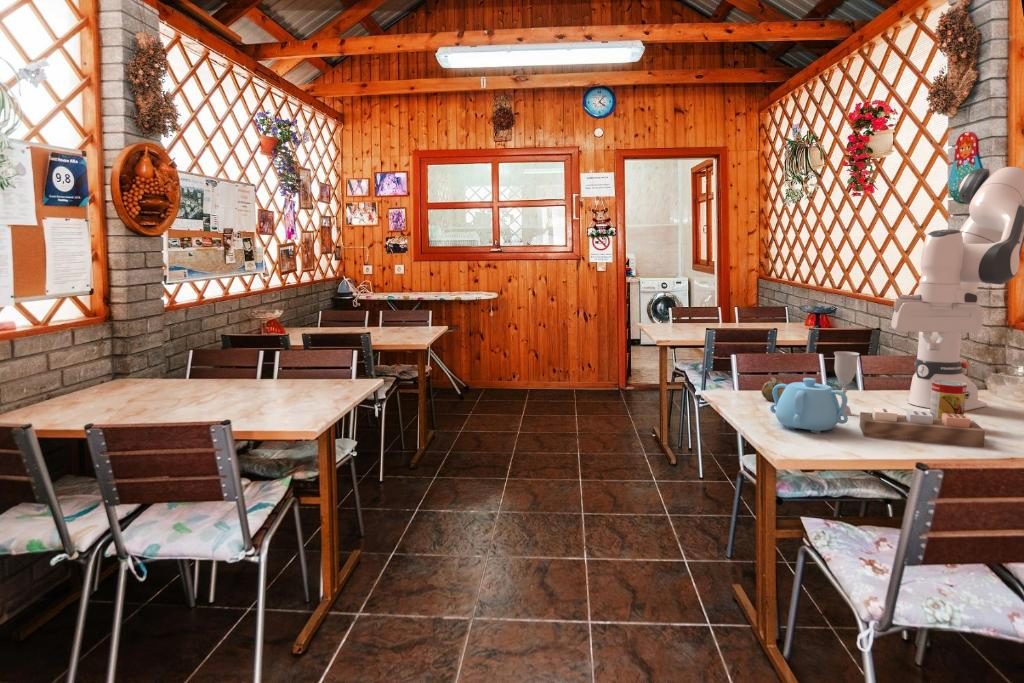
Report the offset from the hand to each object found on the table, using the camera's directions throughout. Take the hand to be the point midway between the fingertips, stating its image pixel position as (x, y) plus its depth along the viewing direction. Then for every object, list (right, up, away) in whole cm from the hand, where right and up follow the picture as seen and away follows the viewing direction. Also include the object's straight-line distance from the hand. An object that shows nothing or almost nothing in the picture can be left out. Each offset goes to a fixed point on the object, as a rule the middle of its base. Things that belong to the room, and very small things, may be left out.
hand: (933, 349), depth 169 cm
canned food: (+13, -21, +15) cm, 29 cm away
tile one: (-9, -19, +6) cm, 22 cm away
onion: (-22, -17, +46) cm, 54 cm away
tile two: (-2, -19, +3) cm, 19 cm away
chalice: (-9, -19, +28) cm, 36 cm away
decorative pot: (-27, -22, +12) cm, 36 cm away
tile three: (+6, -20, 0) cm, 20 cm away
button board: (-2, -22, +4) cm, 23 cm away
